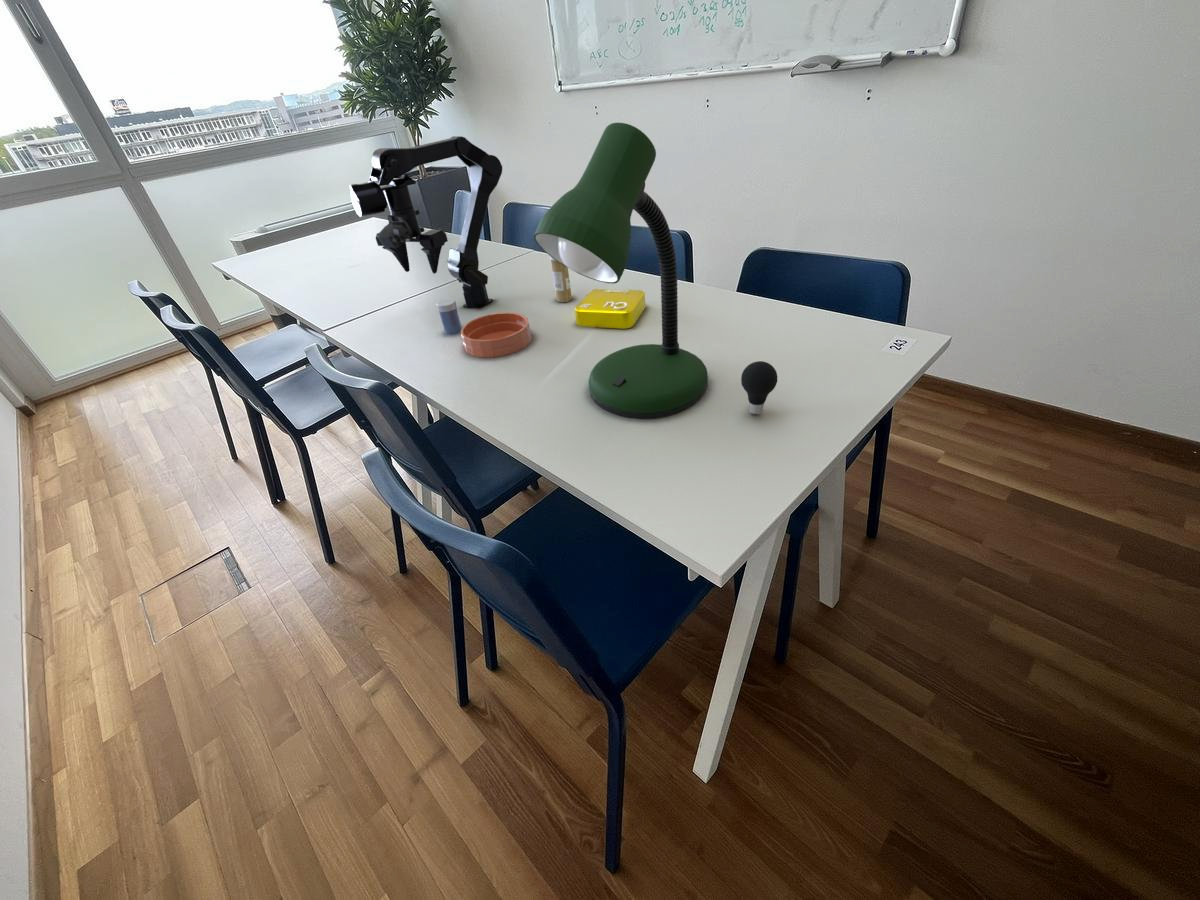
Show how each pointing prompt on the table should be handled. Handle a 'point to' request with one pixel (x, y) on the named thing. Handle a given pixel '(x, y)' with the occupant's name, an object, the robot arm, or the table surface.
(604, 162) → the desk lamp
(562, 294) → the sprinkles bottle
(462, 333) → the bowl
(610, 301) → the element tile
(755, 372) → the light bulb
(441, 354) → the table surface
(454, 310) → the salt shaker
